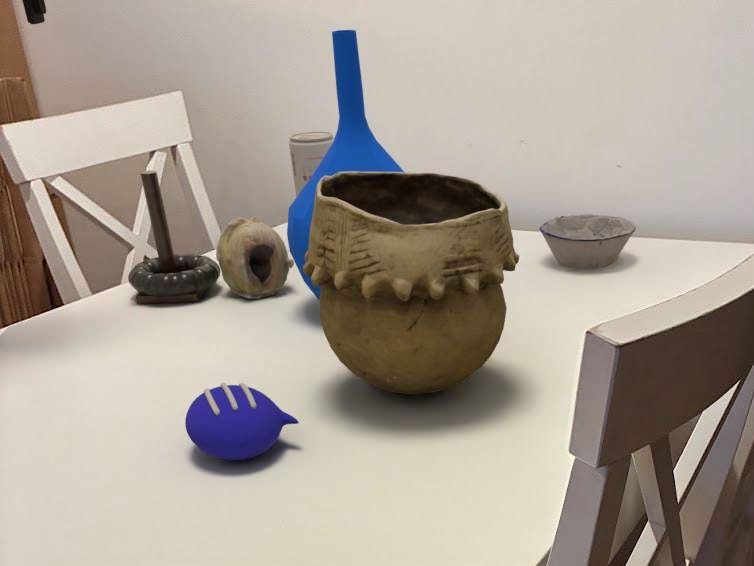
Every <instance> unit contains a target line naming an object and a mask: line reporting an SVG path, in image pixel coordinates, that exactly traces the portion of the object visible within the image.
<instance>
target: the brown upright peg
mask: <svg viewBox="0 0 754 566" xmlns="http://www.w3.org/2000/svg"><path fill="white" fill-rule="evenodd" d="M139 174H140V179H141V184H142V189H143V193H144V197H145V202H146V206H147V211H148V215H149V221H150V224H151V227H152V228H151V230H152V234H153V238H154V243H155V248H156V252H157V257H159V261H160V266H161V271H162V274H164V273H177V272H178V271H177V267H176V262H175V257H174V255H175V252H174V248H173V244H172V238H171V234H170V229H169V226H168V225H169V224H168V220H167V215H166V210H165V205H164V200H163V196H162V191H161V186H160V182H159V176H158V172H157V170H144V171H141V172H140V173H139ZM205 291H206V289H204V290H202V291H200V292H196V293H191V294H186V295H181V296H167V297H156V296H150V295H144V294H141V293H139V292H137V294H136V295H135V301H136V304H137V305H141V304H143V305H144V304H146V305H147V304H168V303H169V304H170V303H191V302H192V303H193V302H199V300H200V299H201V297H202V296H203V294H204V292H205Z"/></svg>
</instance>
